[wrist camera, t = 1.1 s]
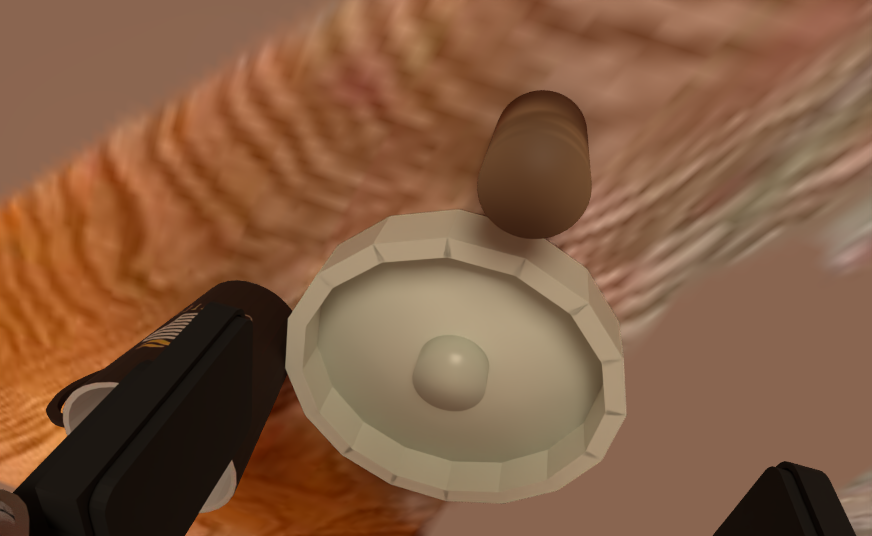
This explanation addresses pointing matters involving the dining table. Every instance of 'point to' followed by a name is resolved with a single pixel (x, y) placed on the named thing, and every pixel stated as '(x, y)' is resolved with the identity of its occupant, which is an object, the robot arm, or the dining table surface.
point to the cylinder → (537, 167)
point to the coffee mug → (247, 296)
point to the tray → (458, 359)
